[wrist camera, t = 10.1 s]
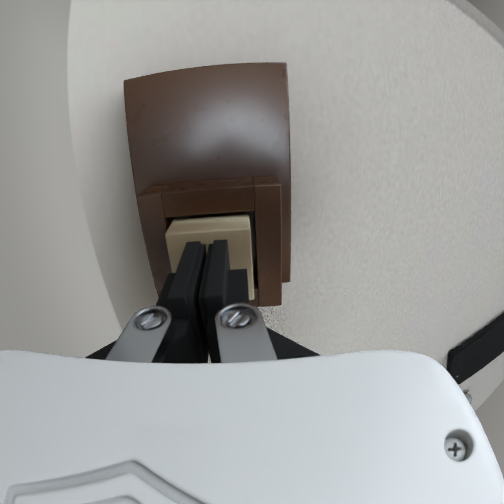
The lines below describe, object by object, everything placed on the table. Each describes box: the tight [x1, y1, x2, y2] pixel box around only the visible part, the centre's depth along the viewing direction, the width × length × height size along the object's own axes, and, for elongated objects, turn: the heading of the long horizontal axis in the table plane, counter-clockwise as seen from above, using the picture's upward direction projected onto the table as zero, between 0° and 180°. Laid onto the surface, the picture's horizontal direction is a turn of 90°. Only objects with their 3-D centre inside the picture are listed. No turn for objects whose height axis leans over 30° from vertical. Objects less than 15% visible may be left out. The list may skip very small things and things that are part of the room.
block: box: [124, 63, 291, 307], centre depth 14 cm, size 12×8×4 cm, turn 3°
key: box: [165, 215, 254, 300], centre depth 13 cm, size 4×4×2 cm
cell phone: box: [447, 314, 504, 385], centre depth 24 cm, size 9×18×1 cm, turn 118°
